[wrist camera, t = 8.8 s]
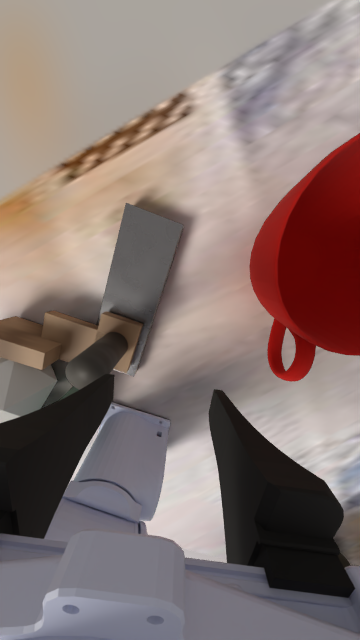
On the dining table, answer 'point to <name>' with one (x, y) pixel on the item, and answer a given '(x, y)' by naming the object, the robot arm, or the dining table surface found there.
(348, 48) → the dining table surface
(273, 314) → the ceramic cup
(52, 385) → the die
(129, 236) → the rail
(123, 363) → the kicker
